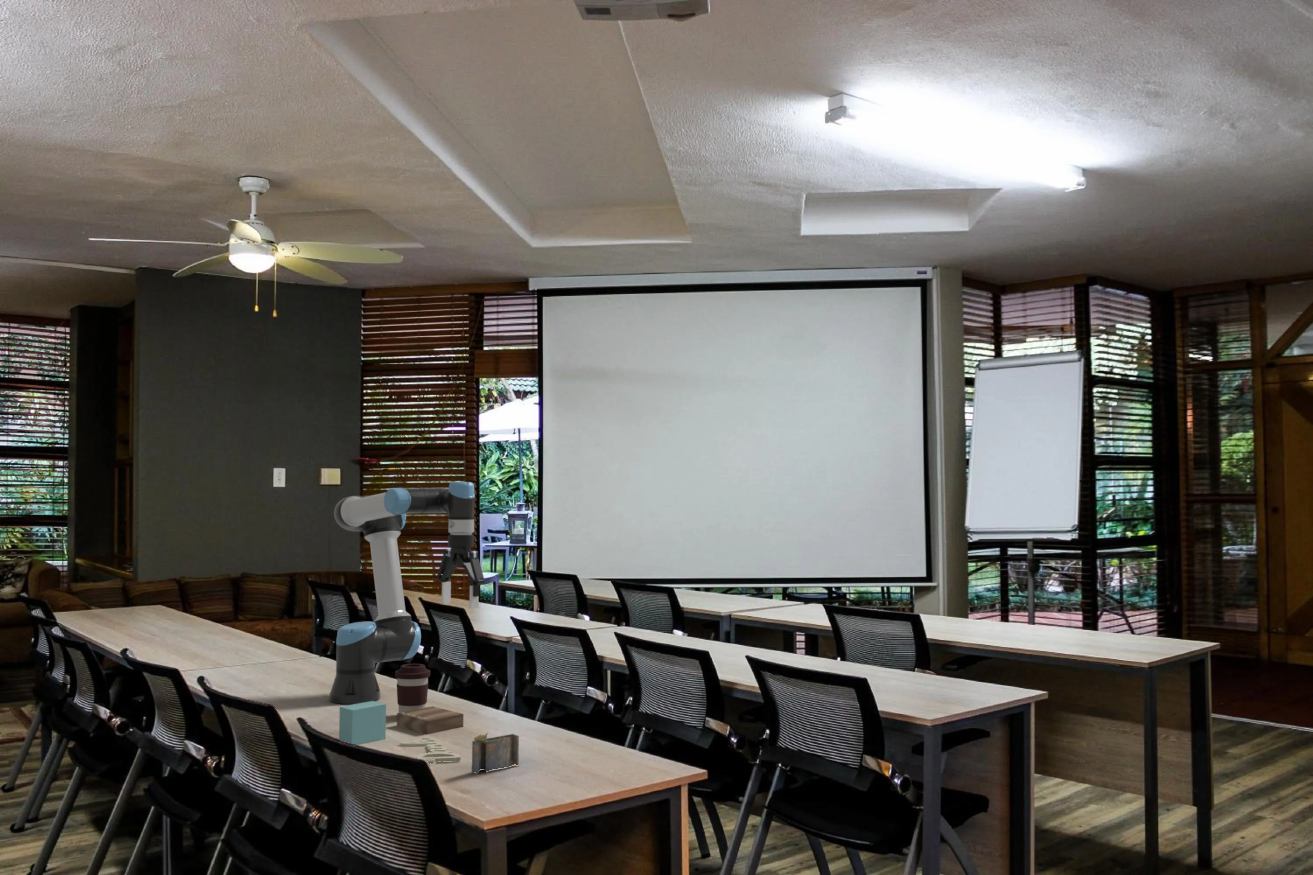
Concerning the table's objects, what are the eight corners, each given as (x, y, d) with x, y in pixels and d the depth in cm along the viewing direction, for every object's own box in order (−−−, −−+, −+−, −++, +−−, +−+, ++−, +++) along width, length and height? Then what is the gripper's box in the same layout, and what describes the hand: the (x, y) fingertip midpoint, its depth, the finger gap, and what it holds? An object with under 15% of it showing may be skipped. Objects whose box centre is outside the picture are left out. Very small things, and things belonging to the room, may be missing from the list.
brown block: (396, 727, 290) (397, 712, 290) (432, 720, 299) (432, 705, 299) (427, 736, 280) (427, 719, 281) (463, 728, 289) (463, 712, 290)
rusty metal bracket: (478, 776, 244) (479, 734, 245) (471, 773, 246) (472, 732, 247) (519, 768, 252) (520, 727, 252) (512, 765, 254) (513, 725, 254)
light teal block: (339, 741, 272) (339, 706, 272) (372, 734, 279) (373, 700, 280) (351, 745, 268) (352, 710, 268) (385, 738, 275) (386, 704, 276)
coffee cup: (420, 722, 296) (421, 669, 297) (388, 720, 298) (389, 667, 299) (435, 714, 306) (435, 663, 306) (403, 713, 308) (404, 661, 308)
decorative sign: (462, 756, 256) (421, 761, 251) (462, 763, 256) (421, 768, 251) (434, 736, 276) (396, 740, 271) (434, 742, 276) (396, 746, 271)
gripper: (425, 532, 317) (424, 603, 316) (476, 536, 300) (475, 610, 299) (446, 531, 322) (445, 601, 321) (497, 535, 305) (496, 608, 304)
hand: (459, 605), depth 310 cm, fingers open, 13 cm apart
